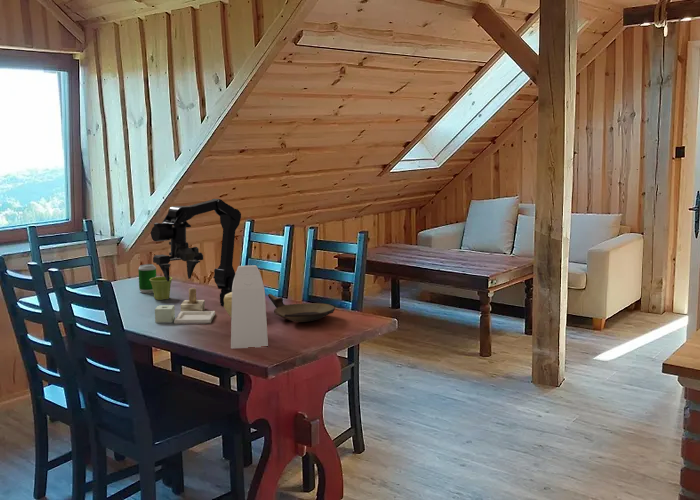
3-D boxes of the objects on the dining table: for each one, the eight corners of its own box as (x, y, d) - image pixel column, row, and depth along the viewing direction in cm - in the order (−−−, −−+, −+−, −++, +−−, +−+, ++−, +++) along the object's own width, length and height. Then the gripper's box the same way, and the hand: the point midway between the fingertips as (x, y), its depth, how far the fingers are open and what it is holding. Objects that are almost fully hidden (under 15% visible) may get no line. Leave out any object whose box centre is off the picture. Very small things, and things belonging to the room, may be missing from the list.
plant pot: (167, 301, 289) (166, 281, 288) (146, 300, 291) (145, 280, 290) (177, 296, 299) (176, 277, 297) (156, 295, 300) (156, 276, 299)
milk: (266, 337, 237) (265, 262, 233) (268, 346, 226) (266, 268, 222) (231, 338, 235) (229, 263, 231) (230, 348, 224) (228, 269, 220)
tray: (215, 314, 267) (214, 310, 267) (210, 323, 254) (210, 319, 254) (181, 315, 267) (180, 311, 266) (174, 323, 254) (174, 319, 253)
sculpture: (220, 320, 260) (219, 292, 258) (235, 312, 271) (234, 285, 269) (247, 322, 256) (247, 294, 254) (261, 314, 267) (261, 287, 266)
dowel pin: (197, 310, 275) (196, 288, 273) (196, 311, 272) (195, 289, 270) (190, 310, 274) (189, 288, 273) (188, 311, 272) (188, 289, 270)
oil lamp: (292, 332, 243) (292, 311, 242) (258, 314, 269) (257, 294, 268) (347, 323, 255) (347, 303, 254) (309, 307, 280) (309, 288, 279)
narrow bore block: (174, 318, 262) (174, 305, 261) (171, 322, 256) (171, 309, 255) (158, 318, 262) (158, 305, 261) (155, 322, 256) (154, 309, 255)
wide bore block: (204, 308, 277) (204, 300, 277) (201, 313, 269) (201, 304, 269) (184, 308, 277) (184, 300, 276) (181, 313, 269) (180, 304, 268)
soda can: (154, 293, 304) (153, 266, 303) (137, 293, 305) (135, 266, 303) (159, 290, 312) (157, 263, 310) (142, 289, 312) (141, 263, 310)
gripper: (167, 243, 250) (167, 285, 252) (211, 240, 263) (211, 280, 265) (152, 240, 258) (152, 281, 260) (195, 237, 271) (195, 276, 273)
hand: (178, 280), depth 265 cm, fingers open, 9 cm apart
